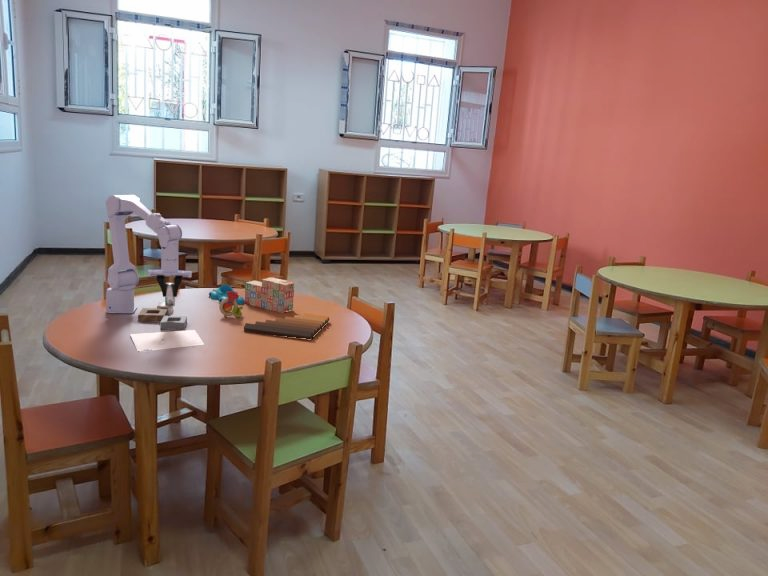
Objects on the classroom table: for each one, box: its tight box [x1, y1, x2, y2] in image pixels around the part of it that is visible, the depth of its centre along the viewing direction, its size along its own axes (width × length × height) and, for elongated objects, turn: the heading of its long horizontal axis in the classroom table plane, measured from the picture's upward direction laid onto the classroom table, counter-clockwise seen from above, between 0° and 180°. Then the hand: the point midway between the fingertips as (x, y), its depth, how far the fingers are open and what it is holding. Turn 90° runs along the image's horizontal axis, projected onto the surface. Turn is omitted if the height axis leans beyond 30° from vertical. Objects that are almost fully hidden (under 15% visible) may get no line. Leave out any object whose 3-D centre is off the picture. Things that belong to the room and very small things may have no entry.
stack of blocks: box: [244, 277, 295, 314], centre depth 239 cm, size 21×6×12 cm, turn 61°
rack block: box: [159, 315, 188, 330], centre depth 206 cm, size 8×8×2 cm
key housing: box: [156, 301, 174, 316], centre depth 220 cm, size 5×6×3 cm
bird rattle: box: [219, 290, 244, 318], centre depth 221 cm, size 6×11×9 cm
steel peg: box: [164, 282, 176, 307], centre depth 205 cm, size 3×3×8 cm
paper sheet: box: [130, 329, 205, 353], centre depth 186 cm, size 24×29×1 cm
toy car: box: [208, 283, 246, 306], centre depth 245 cm, size 11×18×7 cm, turn 39°
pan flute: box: [243, 313, 330, 339], centre depth 216 cm, size 25×3×25 cm
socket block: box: [137, 307, 169, 323], centre depth 212 cm, size 9×9×2 cm
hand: (169, 296), depth 205 cm, fingers closed on steel peg, 3 cm apart
